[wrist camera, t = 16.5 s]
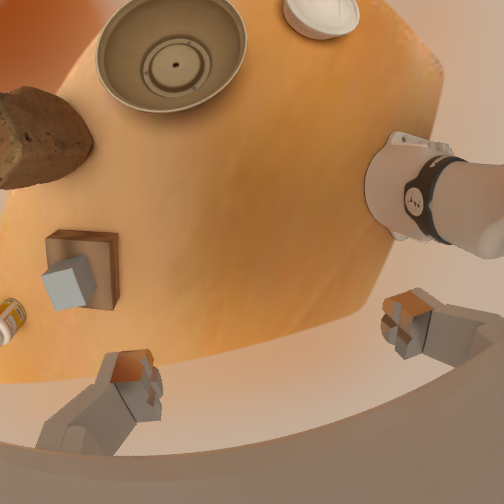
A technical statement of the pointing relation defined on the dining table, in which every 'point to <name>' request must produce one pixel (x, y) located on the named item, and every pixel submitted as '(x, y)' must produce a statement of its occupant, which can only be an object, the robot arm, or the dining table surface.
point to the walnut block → (90, 261)
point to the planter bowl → (170, 52)
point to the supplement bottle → (10, 320)
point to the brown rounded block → (39, 138)
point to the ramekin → (322, 17)
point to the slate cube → (69, 283)
